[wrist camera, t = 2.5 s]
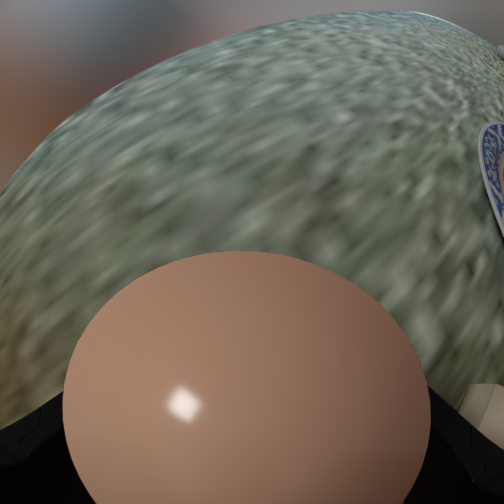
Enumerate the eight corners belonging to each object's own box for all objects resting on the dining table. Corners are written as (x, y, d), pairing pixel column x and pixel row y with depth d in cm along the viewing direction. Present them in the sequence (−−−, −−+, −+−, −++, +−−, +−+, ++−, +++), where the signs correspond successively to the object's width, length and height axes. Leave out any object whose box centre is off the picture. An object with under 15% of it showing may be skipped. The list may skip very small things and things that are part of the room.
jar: (279, 437, 13) (300, 600, 1) (199, 394, 15) (32, 452, 3) (324, 359, 15) (477, 345, 3) (243, 318, 16) (170, 194, 4)
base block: (476, 525, 7) (492, 535, 4) (387, 526, 10) (402, 545, 7) (536, 411, 10) (557, 410, 8) (469, 383, 13) (495, 383, 10)
